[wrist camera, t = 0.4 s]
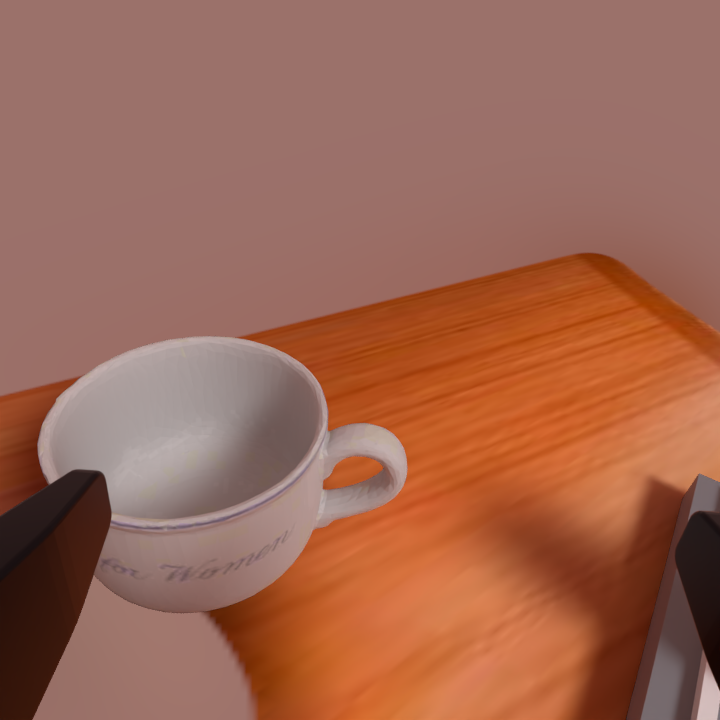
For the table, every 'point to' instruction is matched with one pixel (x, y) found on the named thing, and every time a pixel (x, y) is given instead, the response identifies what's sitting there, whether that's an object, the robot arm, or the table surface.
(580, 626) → the table surface
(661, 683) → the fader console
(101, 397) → the teacup
